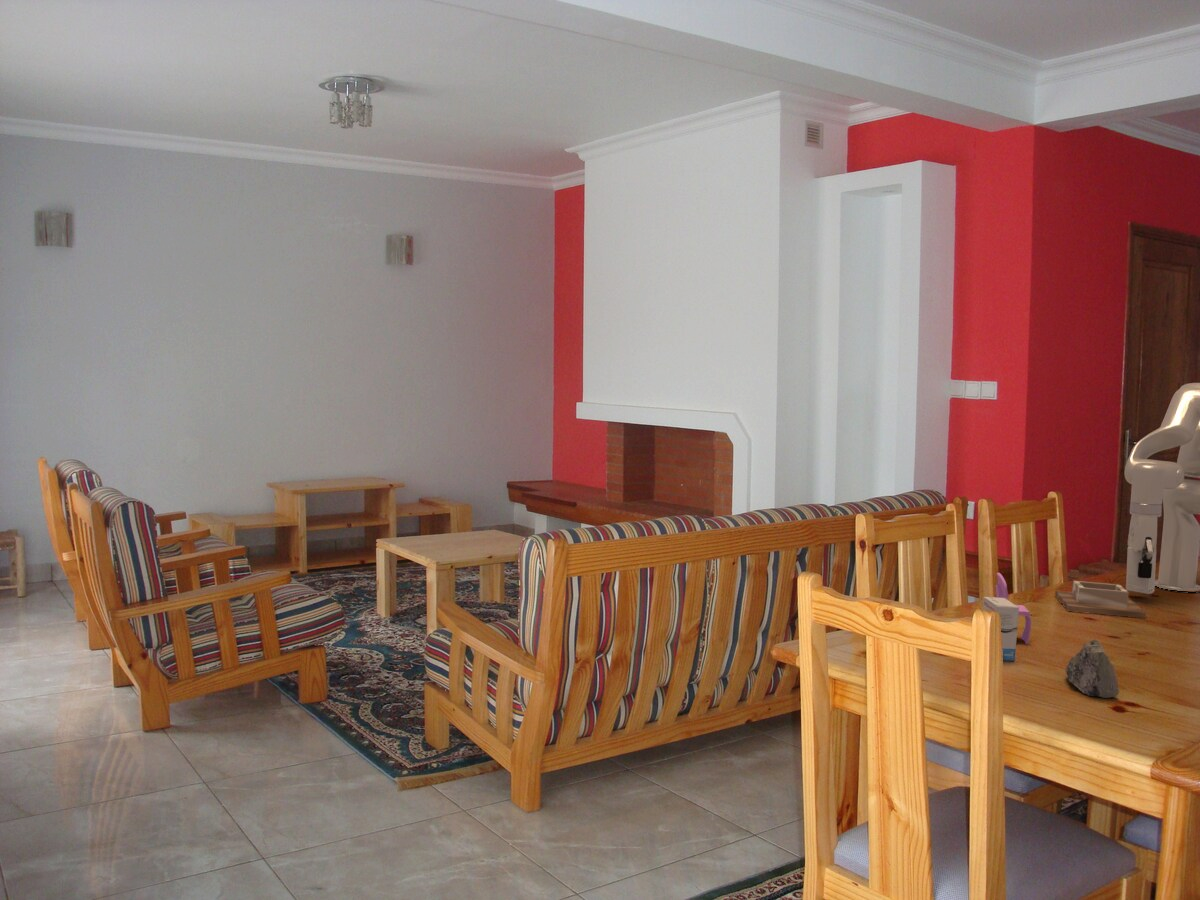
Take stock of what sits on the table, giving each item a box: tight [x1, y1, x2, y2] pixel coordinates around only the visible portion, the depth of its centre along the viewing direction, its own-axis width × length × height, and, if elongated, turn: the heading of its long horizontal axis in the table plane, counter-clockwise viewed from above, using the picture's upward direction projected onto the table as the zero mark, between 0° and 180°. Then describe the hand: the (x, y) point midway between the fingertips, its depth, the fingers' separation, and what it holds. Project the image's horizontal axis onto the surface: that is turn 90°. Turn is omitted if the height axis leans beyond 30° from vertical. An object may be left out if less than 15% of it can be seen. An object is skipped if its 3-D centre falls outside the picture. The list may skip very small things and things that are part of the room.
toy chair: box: [995, 572, 1032, 645], centre depth 234 cm, size 8×9×15 cm
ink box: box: [982, 596, 1019, 662], centre depth 221 cm, size 8×5×12 cm, turn 179°
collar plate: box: [1054, 580, 1147, 619], centre depth 270 cm, size 18×18×6 cm
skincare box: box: [1125, 546, 1157, 595], centre depth 279 cm, size 6×4×12 cm
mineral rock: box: [1064, 638, 1120, 699], centre depth 200 cm, size 13×11×10 cm
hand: (1140, 573), depth 279 cm, fingers closed on skincare box, 6 cm apart
